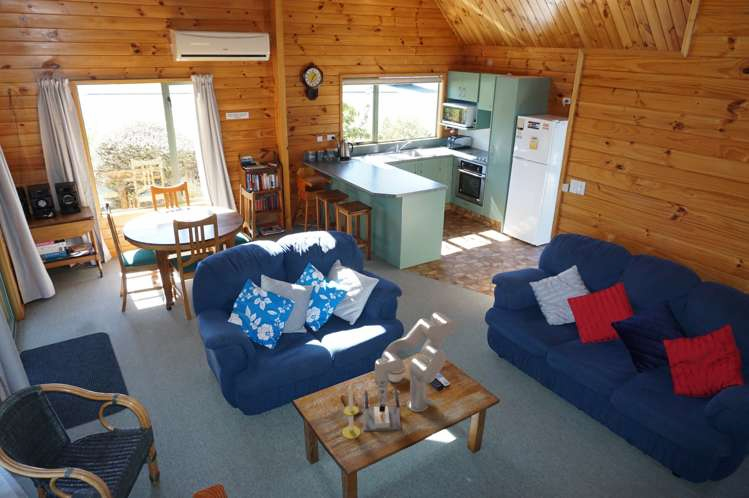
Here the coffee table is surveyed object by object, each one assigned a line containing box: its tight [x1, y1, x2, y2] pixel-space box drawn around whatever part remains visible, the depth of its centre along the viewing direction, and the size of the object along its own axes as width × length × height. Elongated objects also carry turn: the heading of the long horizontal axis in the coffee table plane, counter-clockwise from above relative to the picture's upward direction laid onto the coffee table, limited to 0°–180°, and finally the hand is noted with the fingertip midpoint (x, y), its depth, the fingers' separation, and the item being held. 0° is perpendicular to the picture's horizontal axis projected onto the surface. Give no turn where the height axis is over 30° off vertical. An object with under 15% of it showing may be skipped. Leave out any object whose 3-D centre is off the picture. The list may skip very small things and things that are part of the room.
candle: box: [342, 383, 361, 440], centre depth 274 cm, size 10×10×32 cm
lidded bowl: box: [389, 364, 406, 383], centre depth 323 cm, size 13×13×11 cm
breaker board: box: [362, 390, 402, 432], centre depth 286 cm, size 21×16×15 cm
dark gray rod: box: [394, 389, 401, 408], centre depth 284 cm, size 2×15×2 cm, turn 3°
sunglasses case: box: [340, 395, 363, 418], centre depth 299 cm, size 18×7×7 cm
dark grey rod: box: [364, 390, 369, 409], centre depth 283 cm, size 2×15×2 cm, turn 3°
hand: (381, 405), depth 285 cm, fingers open, 9 cm apart
